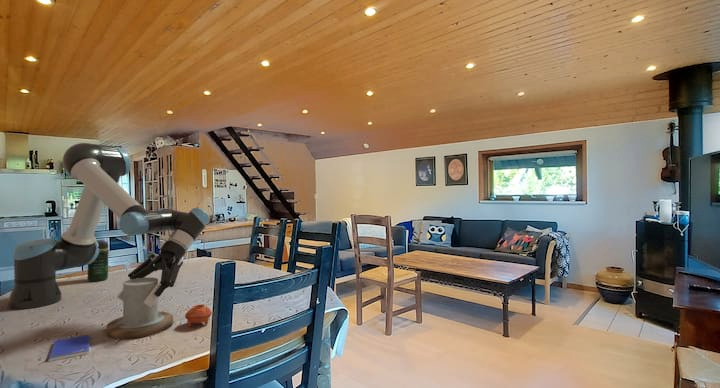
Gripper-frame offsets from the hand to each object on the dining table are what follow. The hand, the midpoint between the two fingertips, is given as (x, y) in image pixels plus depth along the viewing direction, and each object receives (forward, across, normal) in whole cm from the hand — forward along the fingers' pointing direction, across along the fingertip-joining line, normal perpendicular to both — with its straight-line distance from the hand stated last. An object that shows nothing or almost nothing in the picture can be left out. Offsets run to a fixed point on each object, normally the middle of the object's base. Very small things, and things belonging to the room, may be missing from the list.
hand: (133, 302), depth 112 cm
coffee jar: (-16, +74, -29) cm, 81 cm away
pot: (-2, -14, -15) cm, 21 cm away
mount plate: (+4, 0, -8) cm, 9 cm away
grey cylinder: (+3, 0, -6) cm, 7 cm away
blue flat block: (+18, +2, +4) cm, 18 cm away
